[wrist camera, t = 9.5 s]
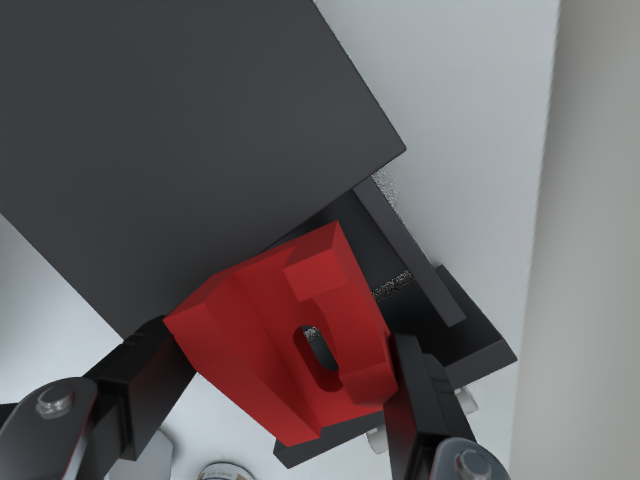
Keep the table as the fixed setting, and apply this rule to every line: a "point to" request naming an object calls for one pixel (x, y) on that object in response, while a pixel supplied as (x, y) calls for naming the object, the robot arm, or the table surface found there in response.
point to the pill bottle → (224, 473)
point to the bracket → (290, 336)
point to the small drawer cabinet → (174, 138)
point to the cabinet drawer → (401, 312)
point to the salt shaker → (147, 462)
